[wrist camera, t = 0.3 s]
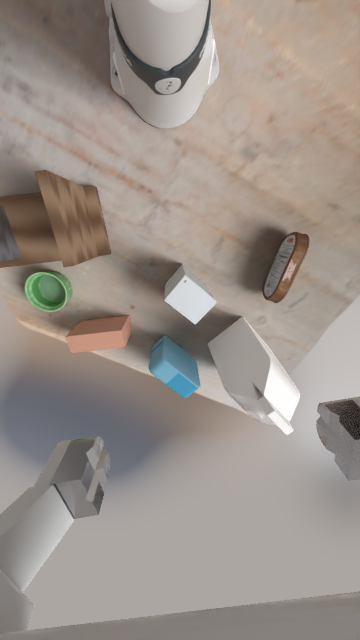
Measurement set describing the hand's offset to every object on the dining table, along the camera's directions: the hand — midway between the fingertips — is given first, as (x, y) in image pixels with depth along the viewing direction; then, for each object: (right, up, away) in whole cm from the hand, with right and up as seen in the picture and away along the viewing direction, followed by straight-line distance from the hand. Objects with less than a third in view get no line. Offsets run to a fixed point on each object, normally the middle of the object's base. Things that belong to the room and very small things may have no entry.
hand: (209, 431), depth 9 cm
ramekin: (-30, +12, +45) cm, 56 cm away
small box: (0, +13, +46) cm, 47 cm away
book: (-19, +3, +49) cm, 53 cm away
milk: (+14, -2, +52) cm, 54 cm away
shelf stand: (-28, +24, +40) cm, 54 cm away
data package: (-2, -4, +53) cm, 53 cm away
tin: (+21, +17, +45) cm, 52 cm away
